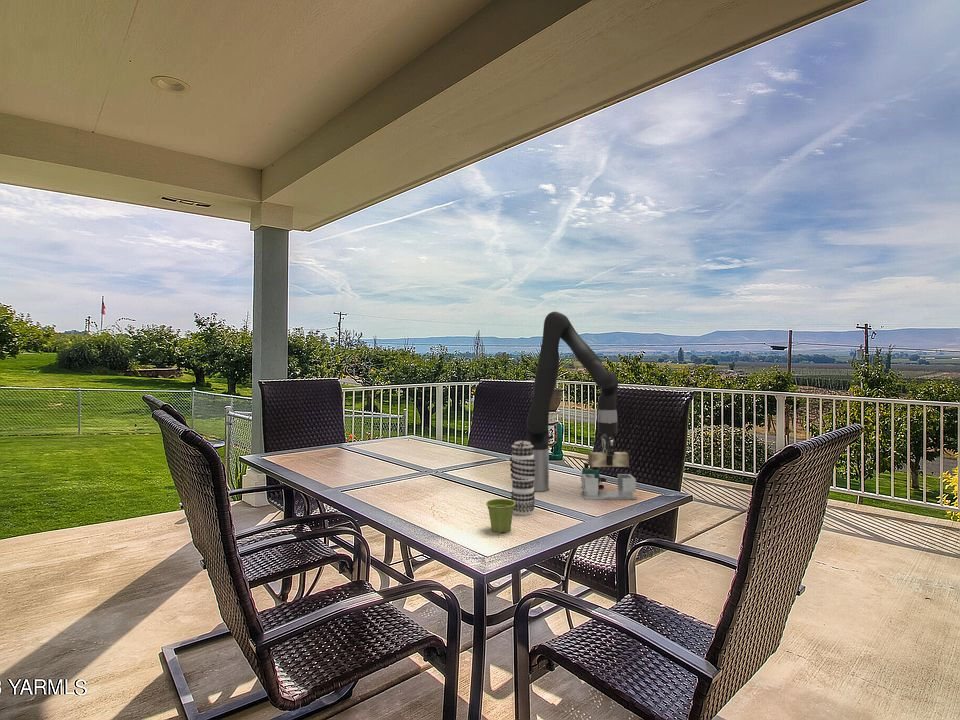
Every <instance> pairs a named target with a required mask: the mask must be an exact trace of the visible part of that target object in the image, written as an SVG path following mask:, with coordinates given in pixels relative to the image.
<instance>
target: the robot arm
mask: <svg viewBox="0 0 960 720" xmlns="http://www.w3.org/2000/svg"><path fill="white" fill-rule="evenodd" d="M560 340H562V341H564V343H565V344H567V346H568V347H569V348H570V350H571V351H572V353H573V356H575V359H577V360H578V362H579V363H580V364H581V365H582V367H584V369H585V370H586V371H587V373H588V374H589V375H590V378H591V379H592V380H593V382H594V383H595V385H596V386H598V388H601V389H600V395H599V396H598V401H597V402H598V404H597V405H598V410H597V432H598V434H602V435H601V436H600V439H601V450H602V451H601V452H606V455H607V465H613V455H614V452H615V450H616V449H615V448H616V447H615V445H616V441H615V438H614V435H613V434H617V433H618V411H617V396H618V389H619V378H618V375H617V373H615V372H614V371H613V370H612V371H611V370H607V369H606V368H605V366H604V365H603V361H602V359H601V358H600V357H599V356H598V354H596V352H595V351H594V350H593V349H592V348H591V347H590V346H589V345H588V344H587V343H586V342H585V341H584V339H582V337H581V336H580V334H579V333H578V332H577V331H576V329H575V328H574V326H573V324H572V323H571V321H570V319H569V318H568V316H566V315H565V314H564V313H561V312H559V311H551V312H549V313H548V314H547V315H546V317H545V319H544V321H543V331H542V342H541V347H540V351H539V356H538V361H537V365H536V369H535V376H534V381H533V382H534V385H533V397H532V403H531V406H530V409H529V412H528V414H527V417H526V441H529V442H530V443H531V444H532V445H533V446H534V447H533V454H534V458H533V459H535V462H533V463H534V464H535V466H533V469H535V471H534V472H533V473H534V474H535V476H533V477H534V480H533V487H534V492H546V491H548V490H549V489H550V472H549V471H550V470H549V469H550V467H549V466H550V465H549V463H550V462H549V459H550V458H549V456H550V454H549V453H550V451H549V449H550V448H549V439H550V438H549V415H550V408H551V406H550V405H551V403H552V402H551V401H552V398H553V395H554V391H555V388H556V384H557V381H558V377H559V376H558V375H559V370H560V355H559V353H560V352H559V346H560V345H559V344H560Z"/></svg>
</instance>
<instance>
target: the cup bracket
mask: <svg viewBox="0 0 960 720" xmlns="http://www.w3.org/2000/svg"><path fill="white" fill-rule="evenodd" d="M581 477H582V481H581V488H582V487H583V488H582V489H583V490H582V491H581V492H580V495H581V496H582V495H583V496H582V497H583V499H584V498H585V499H584V500H626V499H638V498H637V496H636V495H635V494H634V493H637V480H636V479H637V478H635V477H634V476H633V475H632V474H630V473H617V490H615V491H613V490H610V491H608V490H607V491H605V490H604V491H599V488H598V485H599V484H598V478H595V475H594V474H582V473H581Z"/></svg>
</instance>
